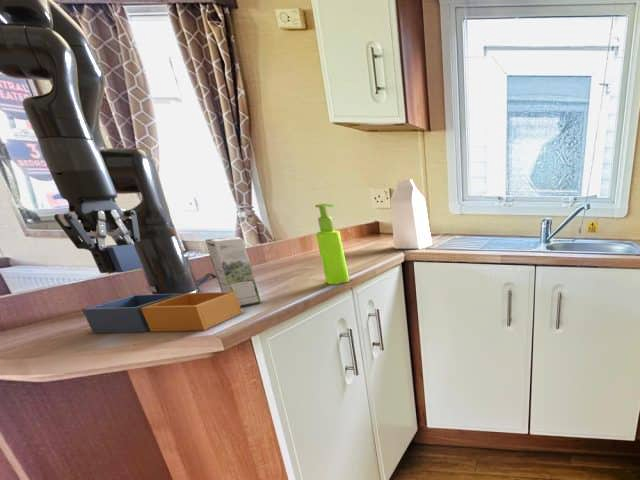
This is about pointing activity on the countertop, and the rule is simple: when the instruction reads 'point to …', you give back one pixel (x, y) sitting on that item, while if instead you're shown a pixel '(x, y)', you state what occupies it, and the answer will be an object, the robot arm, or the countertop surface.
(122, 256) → the slate block
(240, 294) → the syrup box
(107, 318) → the slate bin
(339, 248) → the soap dispenser
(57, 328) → the countertop surface
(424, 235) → the milk
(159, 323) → the honey bin
